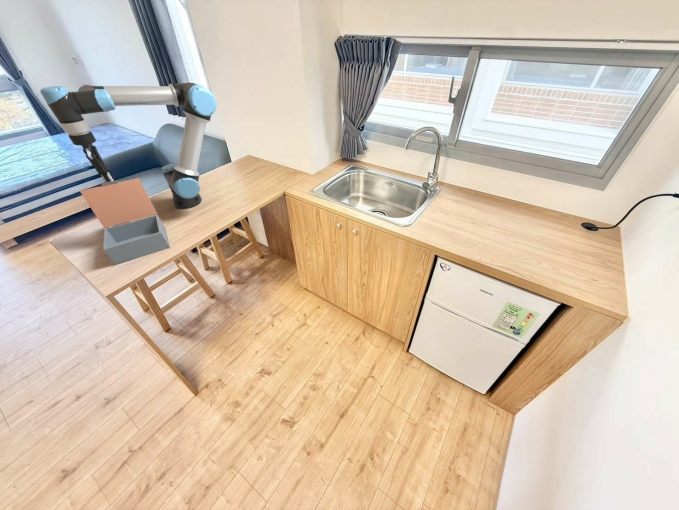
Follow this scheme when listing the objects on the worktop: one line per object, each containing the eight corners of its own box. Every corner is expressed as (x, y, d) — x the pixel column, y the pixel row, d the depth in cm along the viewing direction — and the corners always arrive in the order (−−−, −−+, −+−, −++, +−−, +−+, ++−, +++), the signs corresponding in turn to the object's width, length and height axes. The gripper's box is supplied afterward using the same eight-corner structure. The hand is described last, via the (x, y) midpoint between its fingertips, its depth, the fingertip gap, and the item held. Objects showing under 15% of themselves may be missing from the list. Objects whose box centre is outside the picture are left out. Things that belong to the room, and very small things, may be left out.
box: (115, 243, 128) (104, 228, 122) (165, 229, 137) (157, 214, 131) (115, 265, 117) (103, 249, 111) (169, 247, 126) (161, 232, 120)
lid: (104, 228, 122) (104, 227, 123) (157, 214, 131) (157, 213, 132) (78, 188, 112) (78, 188, 113) (137, 176, 121) (137, 175, 121)
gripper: (69, 130, 107) (103, 183, 123) (65, 138, 99) (102, 195, 115) (92, 127, 110) (122, 179, 126) (89, 135, 102) (122, 190, 118)
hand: (113, 187), depth 120 cm, fingers closed
